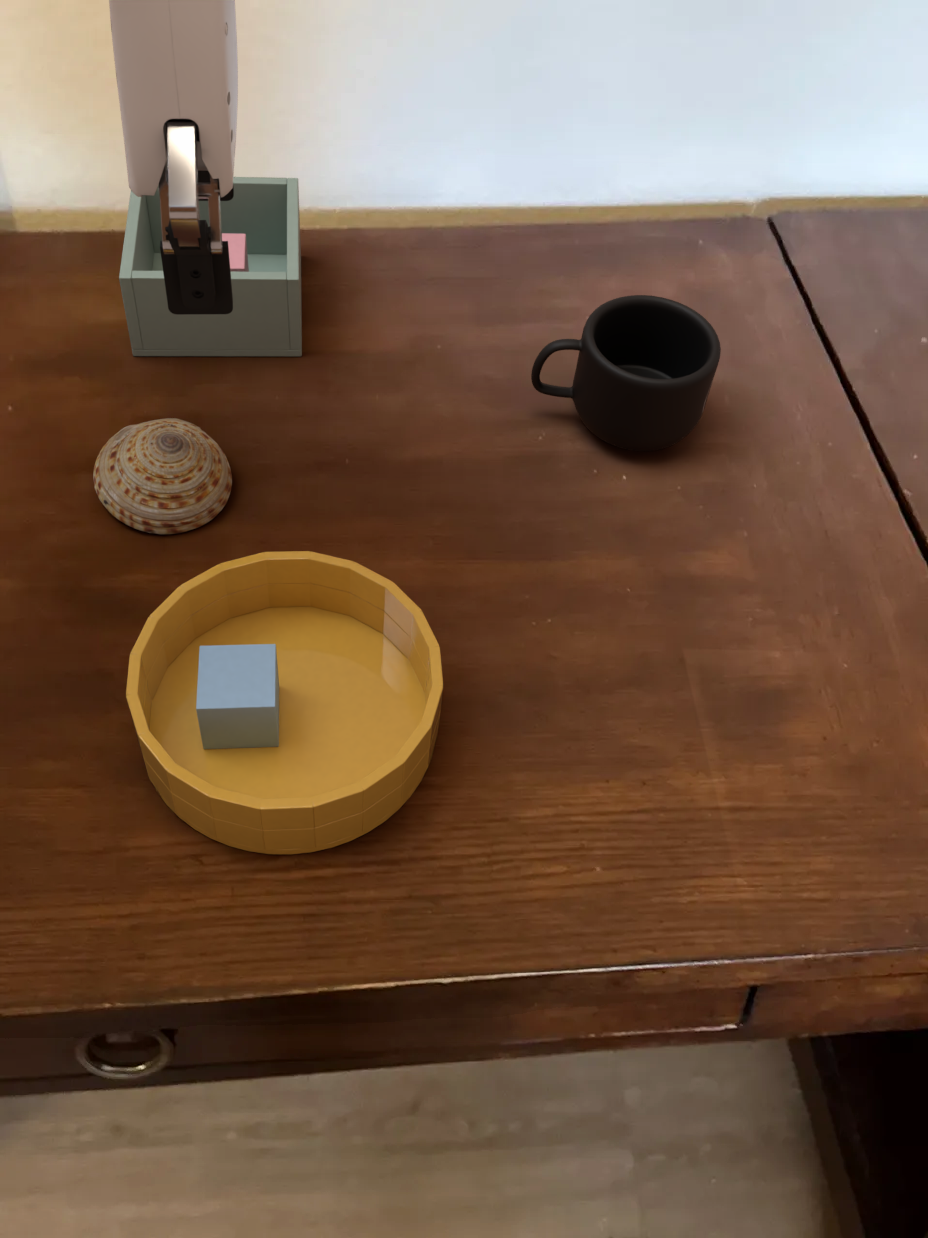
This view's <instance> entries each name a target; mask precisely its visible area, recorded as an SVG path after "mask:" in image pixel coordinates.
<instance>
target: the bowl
mask: <svg viewBox="0 0 928 1238" xmlns="http://www.w3.org/2000/svg"><path fill="white" fill-rule="evenodd" d="M252 644H276V652H277V665H278V677H279V746H278V747H257V748H228V749H203V744H202V739H201V733H200V728H199V722H198V717H197V711H196V701H197V683H198V665H199V647H200V646H211V645H252ZM441 653H442V652H441V647H440V644H439V642H438V640H437V637H436V636H435V634H434V632H433V630H432V628H431V626H430V624H429V621H428V620H427V618H426V616H425V613H424V612H423V610H422V609H421V608H420V607H419V605H417V604H416V603H415V602H414V601H413V599H411V598H410V597H409V595H407V594H406V593H405V592H404V590H402V589H401V588H400V587H399V586H398V585H397V584H396V583H395V582H394V581H392V580H390V579H389V578H387V577H385V576H383V575H381V574H379V573H377V572H375V571H373V570H371V569H370V568H368V567H366V566H364V565H363V564H360V563H358V562H357V561H354V560H349V559H345V558H342V557H338V556H333V555H329V554H324V553H321V552H320V553H319V552H317V551H311V550H303V551H302V550H293V551H292V550H291V551H262V552H258V553H254V554H251V555H247V556H243V557H240V558H235V559H232V560H231V559H230V560H227V561H223V562H220V563H217V564H215V565H214V566H212V567H210V568H209V569H206V570H205V571H204V572H201V573H199V574H198V575H196V576H195V577H192V578H191V579H189V580H187V581H185V582H183V583H181V584H180V585H179V586H178V587H177V588H175V590H173V591H172V593H171V594H170V595H169V596H167V598H165V600H164V601H163V602H162V603H160V604H159V606H157V607H156V608H155V609H154V611H152V613H150V615H148V617H147V619H146V621H145V623H144V625H143V627H142V630H141V631H140V632H139V635H138V637H137V640H136V641H135V643H134V646H133V647H132V648H131V651H130V653H129V658H128V667H127V668H128V669H127V677H126V678H127V679H126V689H125V698H126V699H125V700H126V702H127V705H128V710H129V714H130V717H131V721H132V726H133V729H134V733H135V736H136V741H137V744H138V747H139V749H140V750H139V751H140V753H141V757H142V761H143V763H144V767H145V770H146V774H147V776H148V779H149V781H150V782H151V783H152V785H153V787H154V789H155V791H156V792H157V794H158V795H159V796H160V798H161V799H162V801H163V802H164V803H165V805H166V806H167V807H168V808H169V809H170V810H171V811H172V812H173V813H174V814H175V815H176V817H178V818H179V819H180V820H181V821H183V822H184V823H185V824H187V825H188V826H189V827H191V828H192V829H193V830H195V831H197V832H198V833H200V834H202V835H203V836H206V837H207V838H209V839H211V840H213V841H216V842H218V843H220V844H223V845H225V846H228V847H231V848H235V849H238V850H243V851H245V852H252V853H258V854H266V855H298V854H307V853H314V852H318V851H323V850H329V849H332V848H335V847H338V846H341V845H343V844H346V843H349V842H351V841H354V840H356V839H357V838H359V837H362V836H364V835H366V834H367V833H369V832H371V831H373V830H374V829H376V828H377V827H378V826H380V825H382V824H383V823H385V822H386V821H387V820H388V819H389V818H391V817H392V816H393V815H394V814H395V813H397V812H398V811H399V810H400V809H401V808H402V806H404V804H405V803H406V802H407V801H408V800H409V799H410V798H411V797H412V795H413V794H414V793H415V791H416V789H418V786H419V785H420V783H421V782H422V781H423V778H424V776H425V774H426V772H427V770H428V768H429V765H430V763H431V760H432V757H433V753H434V751H435V745H436V741H437V738H438V734H439V727H440V720H441V710H442V702H443V694H444V693H443V692H444V678H443V676H444V675H443V666H442V656H441Z"/></svg>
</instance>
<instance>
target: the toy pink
mask: <svg viewBox="0 0 928 1238" xmlns="http://www.w3.org/2000/svg"><path fill="white" fill-rule="evenodd" d="M222 241H228V248H229V259H230V271H231V272H249V268H248V255H247V242H246V234H233V233H222Z"/></svg>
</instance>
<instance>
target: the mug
mask: <svg viewBox="0 0 928 1238" xmlns="http://www.w3.org/2000/svg"><path fill="white" fill-rule="evenodd" d="M581 333H582V334H581V338H580V339H577V338H561V339H556V340H553V341H550V342H549V343H548V344H546V345H545V346H544V347H543V348H542V349H541V351H540V352H539V353H538V354H537V356H536V358H535V360H534V362H533V365H532V368H531V374H530V380H531V384H532V386H533V388H534V390H536V391H537V392H538V393H540V394H543V395H547V396H551V397H558V398H566V399H572V401H573V404H574V407H575V410H576V413H577V414H578V416H579V418H580V420H581V422H582V423H583V424H584V426H585V427H586V428H587V430H589V431H590V432H591V433H592V434H593V435H594V436H596V437H597V438H599V439H600V440H602V441H603V442H605V443H607V444H609V445H611V446H614V447H616V448H620V449H624V450H628V451H635V452H636V451H637V452H650V451H651V452H652V451H657V450H663V449H665V448H668V447H669V448H670V447H671V446H674V445H676V444H678V443H679V442H680V441H682V440H683V439H685V438H686V437H687V436H688V435H689V434H691V432H693V430H694V429H695V428H696V426H697V425H698V423H700V420H701V418H702V416H703V414H704V409H705V408H706V405H707V401H708V398H709V394H710V391H711V388H712V385H713V381H714V378H715V376H716V373H717V369H718V366H719V362H720V358H721V350H722V349H721V342H720V339H719V335H718V333H717V332H716V330H715V328H714V327H713V325H712V324H711V322H709V321H708V320H707V319H706V317H704V316H703V315H701V313H699V312H698V311H696V310H695V309H693V308H691V307H689V306H688V305H686V304H683V303H682V302H679V301H676V300H674V299H670V298H667V297H663V296H656V295H648V294H647V295H646V294H631V295H625V296H619V297H616V298H613V299H610V300H608V301H606V302H604V303H602V304H600V305H599V306H598V307H596V308H595V309H594V310H593V312H591V314H590V315H588V318H587V319H586V321H585V324H584V326H583V330H582V332H581ZM560 351H578V355H577V361H576V366H575V371H574V375H573V376H574V377H573V381H572V386H560V385H553V384H548V383H545V382H543V381H541V371H542V368H543V367H544V364H545V363H546V361H547V360H548V359H549V358H550V357H551V355H553V354H554V353H556V352H560Z"/></svg>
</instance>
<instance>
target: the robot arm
mask: <svg viewBox="0 0 928 1238" xmlns="http://www.w3.org/2000/svg"><path fill="white" fill-rule="evenodd" d="M108 5H109V6H108V7H109V19H110V31H111V43H112V52H113V61H114V70H115V77H116V78H115V79H116V84H117V94H118V102H119V110H120V111H119V112H120V119H121V127H122V128H121V129H122V136H123V144H124V153H125V163H126V173H127V181H128V188H129V189H130V192H131V191H132V192H133V193H134V194H135V195H136V196H138V197H143V196H144V195H152V196H154V195H155V193H156V190H157V187H158V184H159V187H158V190H159V196H160V212H161V229H162V241H160V252H161V259H162V266H163V274H164V281H165V288H166V296H167V303H168V309H169V311H170V312H171V313H173V314H177V315H183V314H229V313H231V312H232V310H233V295H232V283H231V271H230V259H229V248H228V241H222V227H221V207H220V201H229V200H231V199H232V198H233V197H234V186H233V177H234V175H235V174H234V173H235V158H236V146H237V145H236V144H237V128H238V127H237V125H238V105H239V104H238V103H239V102H238V101H239V99H238V98H239V66H238V65H239V64H238V63H239V62H238V60H239V59H238V34H237V33H238V31H237V12H236V0H108ZM199 201H208V210H209V227H208V224H207V222H206V220H200V210H199Z"/></svg>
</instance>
